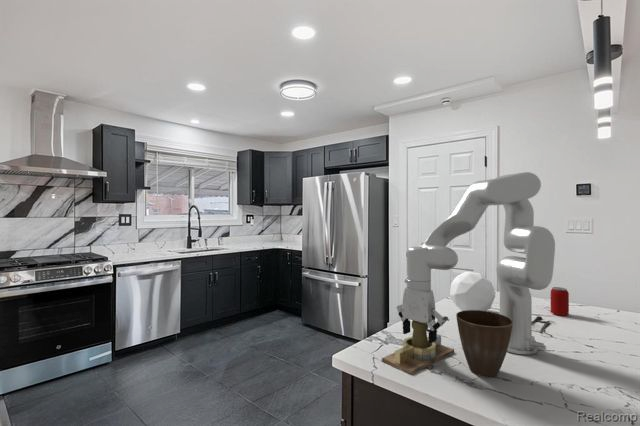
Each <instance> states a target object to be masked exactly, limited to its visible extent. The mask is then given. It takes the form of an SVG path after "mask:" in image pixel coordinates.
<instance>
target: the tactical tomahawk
mask: <svg viewBox="0 0 640 426" xmlns="http://www.w3.org/2000/svg"><path fill="white" fill-rule="evenodd" d="M443 317H444V321H443V324H444V323H445V322H446V321H448V319H449V317H448V316H443ZM429 330H430V328H428V329H427V330H426V332H429Z"/></svg>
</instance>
